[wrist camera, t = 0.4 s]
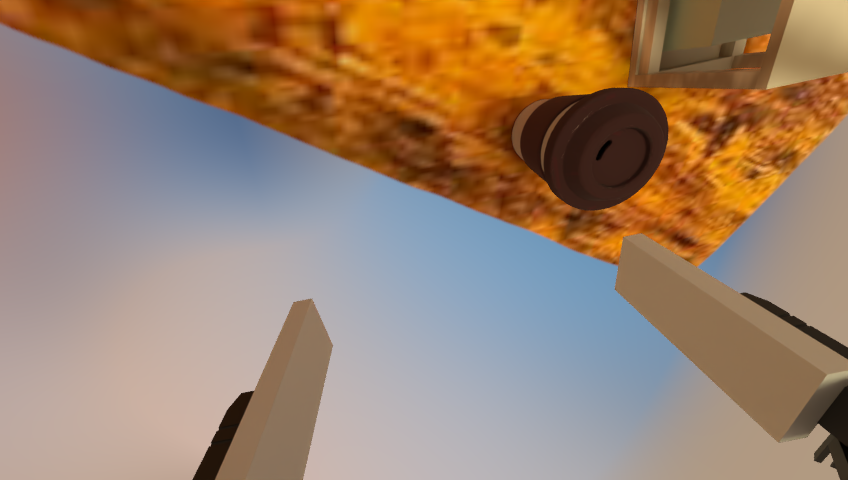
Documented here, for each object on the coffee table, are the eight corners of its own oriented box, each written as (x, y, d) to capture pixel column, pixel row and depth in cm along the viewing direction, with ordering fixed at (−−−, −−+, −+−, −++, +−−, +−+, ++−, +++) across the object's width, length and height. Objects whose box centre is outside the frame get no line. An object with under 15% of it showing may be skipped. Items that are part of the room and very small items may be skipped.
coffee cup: (589, 145, 38) (694, 178, 25) (518, 186, 40) (580, 238, 26) (564, 67, 34) (676, 57, 20) (486, 117, 35) (542, 138, 22)
